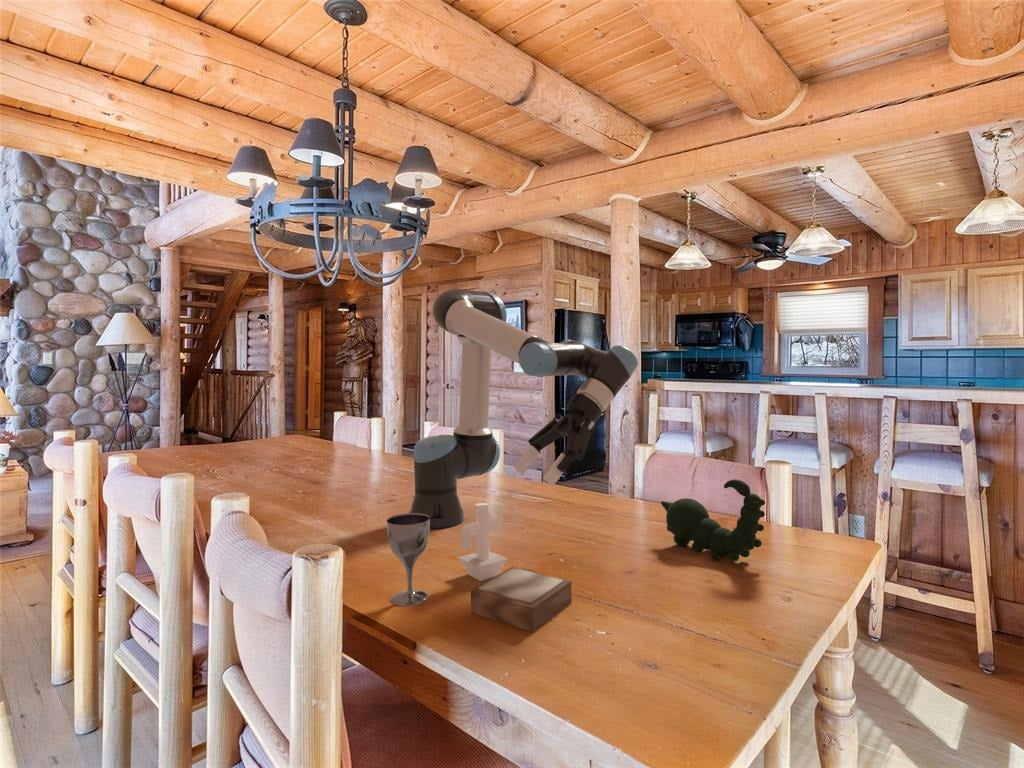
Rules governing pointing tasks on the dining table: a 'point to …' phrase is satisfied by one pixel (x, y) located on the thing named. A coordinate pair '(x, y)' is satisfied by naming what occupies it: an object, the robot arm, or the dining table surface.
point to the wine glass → (408, 550)
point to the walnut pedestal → (521, 598)
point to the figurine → (482, 543)
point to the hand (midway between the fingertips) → (532, 476)
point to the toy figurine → (716, 525)
